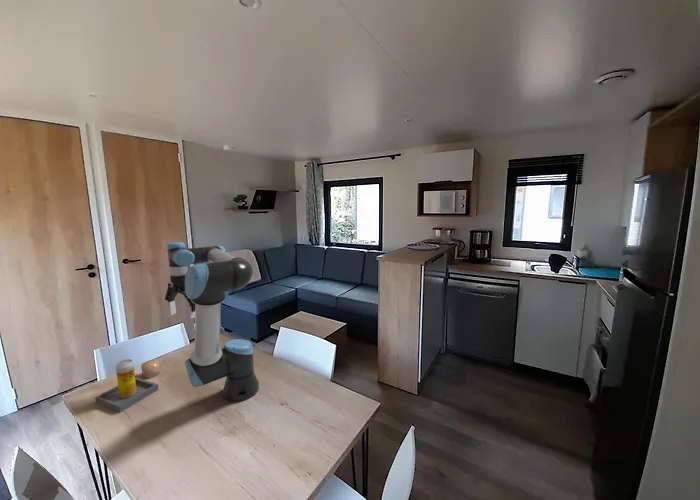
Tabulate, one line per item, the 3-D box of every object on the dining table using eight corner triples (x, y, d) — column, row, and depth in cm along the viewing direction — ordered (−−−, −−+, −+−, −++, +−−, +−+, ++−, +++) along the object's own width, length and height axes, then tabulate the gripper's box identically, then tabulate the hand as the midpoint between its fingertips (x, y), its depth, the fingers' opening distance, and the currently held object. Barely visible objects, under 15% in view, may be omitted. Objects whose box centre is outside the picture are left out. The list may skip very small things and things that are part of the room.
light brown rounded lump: (162, 372, 147) (161, 361, 146) (148, 380, 141) (147, 368, 140) (153, 369, 150) (152, 358, 149) (139, 377, 143) (137, 365, 142)
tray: (158, 389, 133) (157, 384, 133) (120, 412, 119) (119, 406, 118) (135, 382, 139) (134, 376, 139) (96, 402, 124) (95, 397, 124)
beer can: (129, 398, 126) (126, 366, 124) (115, 398, 126) (111, 366, 124) (140, 389, 132) (136, 358, 130) (126, 389, 132) (122, 358, 130)
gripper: (204, 274, 141) (208, 316, 144) (168, 270, 150) (172, 310, 153) (191, 278, 134) (195, 322, 137) (153, 273, 143) (158, 315, 146)
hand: (182, 315), depth 145 cm, fingers open, 13 cm apart
